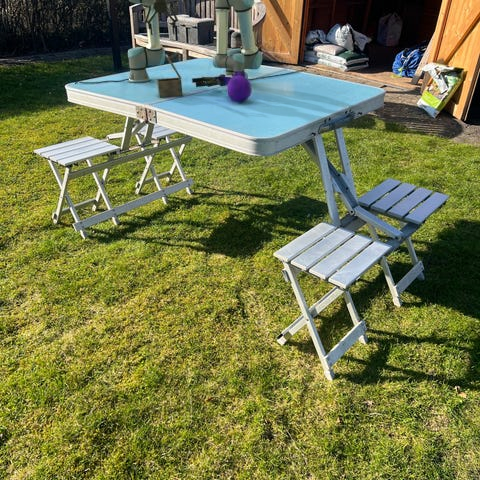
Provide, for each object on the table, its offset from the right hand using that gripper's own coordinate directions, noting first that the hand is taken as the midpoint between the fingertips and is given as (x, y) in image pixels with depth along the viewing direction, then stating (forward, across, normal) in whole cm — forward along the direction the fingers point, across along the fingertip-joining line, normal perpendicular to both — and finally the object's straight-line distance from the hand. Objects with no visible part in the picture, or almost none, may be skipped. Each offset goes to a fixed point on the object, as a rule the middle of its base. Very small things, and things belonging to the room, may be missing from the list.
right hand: (193, 82), depth 296 cm
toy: (-21, -27, -7) cm, 35 cm away
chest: (+16, 0, -7) cm, 18 cm away
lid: (+13, 0, +10) cm, 17 cm away
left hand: (+17, 0, +30) cm, 34 cm away
